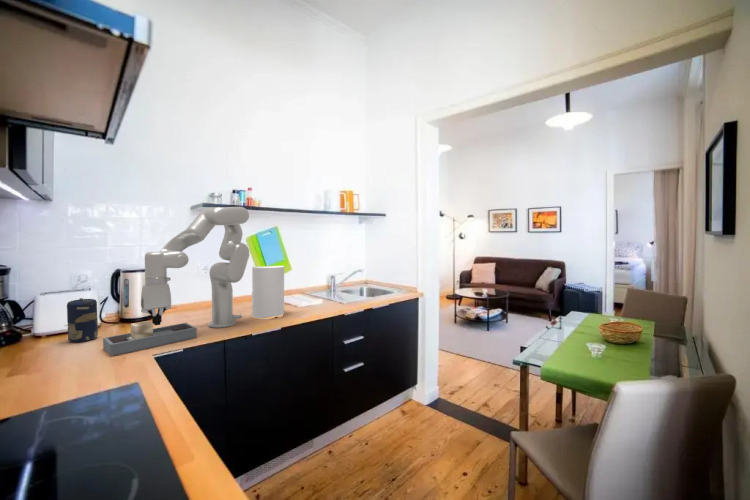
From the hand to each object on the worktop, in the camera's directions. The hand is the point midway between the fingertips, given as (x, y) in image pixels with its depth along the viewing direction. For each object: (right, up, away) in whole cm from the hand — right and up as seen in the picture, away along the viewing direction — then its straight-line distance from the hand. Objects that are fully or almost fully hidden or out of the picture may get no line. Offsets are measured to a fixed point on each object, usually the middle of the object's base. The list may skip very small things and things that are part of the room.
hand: (157, 324), depth 136 cm
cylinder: (+31, -6, +48) cm, 57 cm away
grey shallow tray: (-1, -8, -1) cm, 8 cm away
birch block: (-4, -5, -4) cm, 7 cm away
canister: (-33, -7, +2) cm, 33 cm away
